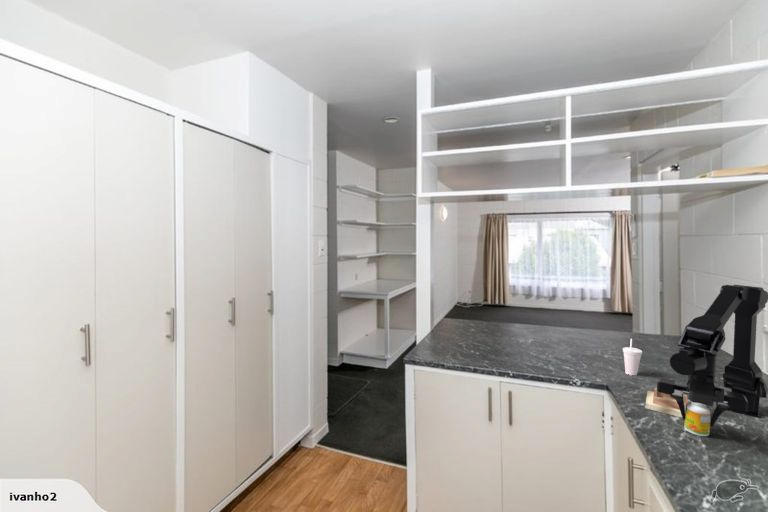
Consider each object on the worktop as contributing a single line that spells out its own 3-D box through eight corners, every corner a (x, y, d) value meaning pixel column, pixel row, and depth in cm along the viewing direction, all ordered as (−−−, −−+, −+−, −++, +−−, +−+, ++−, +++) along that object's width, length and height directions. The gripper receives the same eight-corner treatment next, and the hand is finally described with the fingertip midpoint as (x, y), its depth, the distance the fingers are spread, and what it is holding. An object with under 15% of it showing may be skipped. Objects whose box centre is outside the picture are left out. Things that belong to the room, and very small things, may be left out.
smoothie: (622, 369, 145) (624, 335, 144) (641, 373, 141) (643, 338, 140) (620, 374, 140) (622, 339, 139) (640, 378, 136) (642, 342, 135)
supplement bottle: (679, 425, 103) (681, 393, 103) (698, 426, 103) (700, 393, 103) (694, 436, 98) (697, 402, 97) (714, 437, 98) (717, 402, 97)
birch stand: (693, 405, 115) (694, 395, 115) (695, 421, 106) (696, 409, 106) (647, 394, 123) (648, 384, 123) (645, 408, 114) (646, 397, 113)
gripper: (658, 368, 99) (654, 423, 100) (754, 388, 87) (749, 449, 88) (659, 357, 108) (655, 407, 109) (747, 373, 96) (742, 429, 97)
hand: (697, 422), depth 101 cm, fingers closed on supplement bottle, 5 cm apart
